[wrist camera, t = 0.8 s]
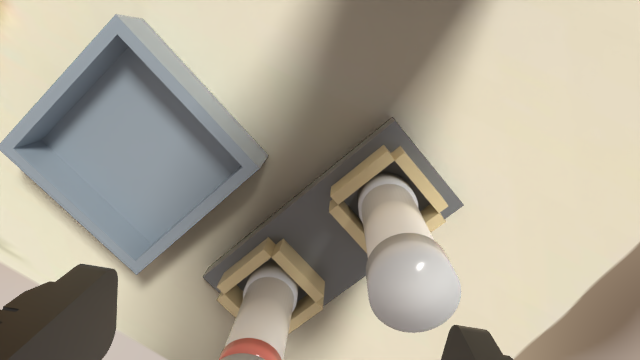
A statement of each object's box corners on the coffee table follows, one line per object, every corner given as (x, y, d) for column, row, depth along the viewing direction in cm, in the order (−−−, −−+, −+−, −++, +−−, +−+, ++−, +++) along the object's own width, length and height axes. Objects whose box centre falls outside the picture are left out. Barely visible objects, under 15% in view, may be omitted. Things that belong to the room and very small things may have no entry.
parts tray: (142, 18, 27) (115, 14, 24) (268, 155, 30) (259, 168, 27) (34, 136, 30) (-4, 147, 27) (157, 252, 33) (136, 274, 30)
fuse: (389, 160, 28) (424, 235, 17) (424, 201, 29) (479, 299, 18) (345, 195, 29) (349, 288, 18) (380, 234, 30) (405, 347, 18)
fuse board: (392, 117, 29) (399, 125, 25) (458, 197, 30) (472, 215, 27) (208, 267, 33) (193, 291, 30) (274, 331, 35) (267, 360, 31)
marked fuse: (275, 251, 31) (237, 368, 19) (310, 286, 31) (293, 419, 20) (238, 280, 32) (180, 409, 20) (272, 314, 32) (236, 456, 21)
